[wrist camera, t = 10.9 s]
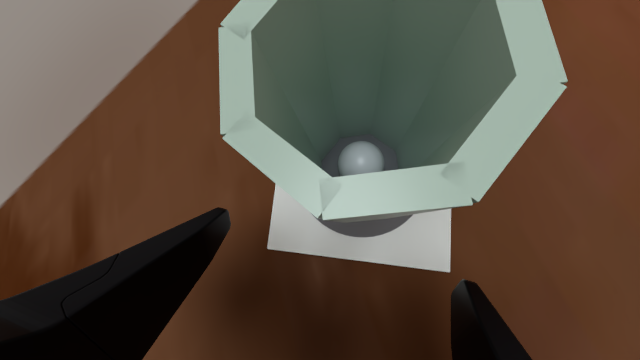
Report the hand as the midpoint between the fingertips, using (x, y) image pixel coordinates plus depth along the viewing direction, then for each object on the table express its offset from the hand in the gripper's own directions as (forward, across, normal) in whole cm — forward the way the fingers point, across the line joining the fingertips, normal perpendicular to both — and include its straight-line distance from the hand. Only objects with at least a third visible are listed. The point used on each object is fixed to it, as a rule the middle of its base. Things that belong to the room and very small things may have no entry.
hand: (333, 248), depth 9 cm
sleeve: (+8, 0, +2) cm, 9 cm away
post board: (+9, 0, +3) cm, 10 cm away
